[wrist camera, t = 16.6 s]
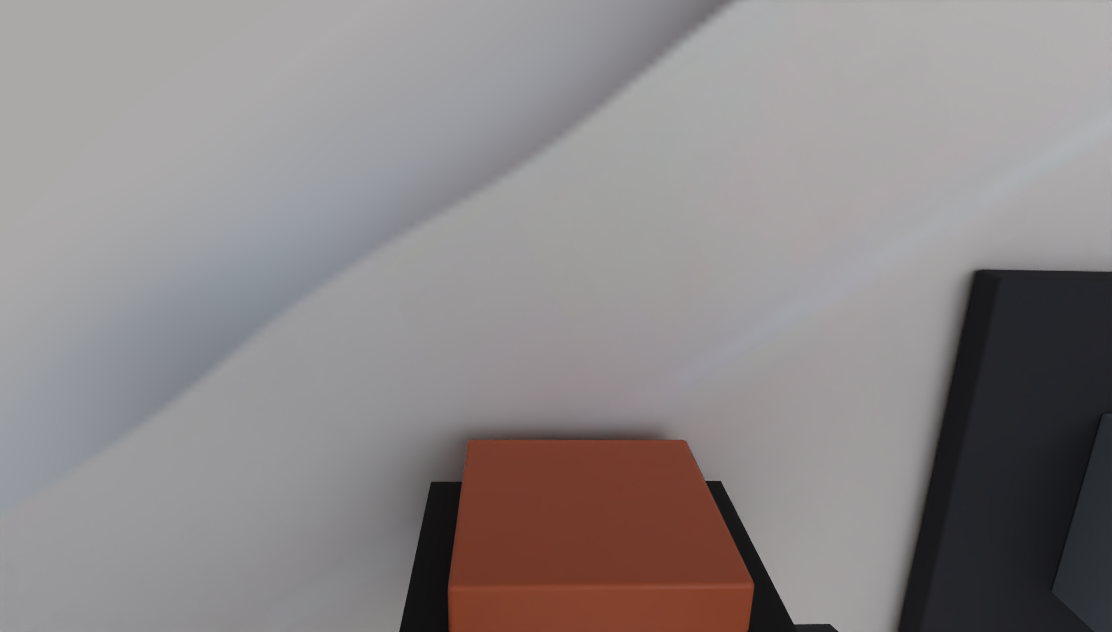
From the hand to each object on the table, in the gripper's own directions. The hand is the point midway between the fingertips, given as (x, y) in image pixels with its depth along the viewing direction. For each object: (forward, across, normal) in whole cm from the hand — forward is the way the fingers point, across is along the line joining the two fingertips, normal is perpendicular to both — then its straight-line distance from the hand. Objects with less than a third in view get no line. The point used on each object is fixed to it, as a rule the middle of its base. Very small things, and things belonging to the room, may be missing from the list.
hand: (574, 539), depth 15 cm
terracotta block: (0, 0, 0) cm, 0 cm away
